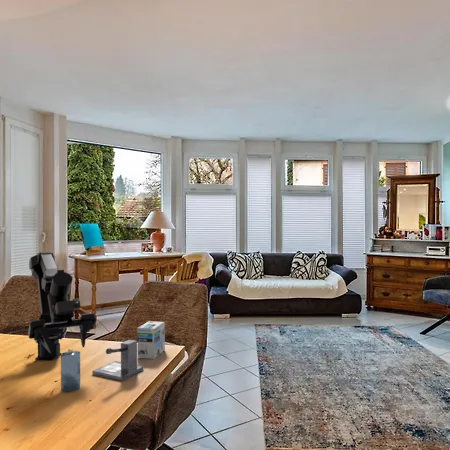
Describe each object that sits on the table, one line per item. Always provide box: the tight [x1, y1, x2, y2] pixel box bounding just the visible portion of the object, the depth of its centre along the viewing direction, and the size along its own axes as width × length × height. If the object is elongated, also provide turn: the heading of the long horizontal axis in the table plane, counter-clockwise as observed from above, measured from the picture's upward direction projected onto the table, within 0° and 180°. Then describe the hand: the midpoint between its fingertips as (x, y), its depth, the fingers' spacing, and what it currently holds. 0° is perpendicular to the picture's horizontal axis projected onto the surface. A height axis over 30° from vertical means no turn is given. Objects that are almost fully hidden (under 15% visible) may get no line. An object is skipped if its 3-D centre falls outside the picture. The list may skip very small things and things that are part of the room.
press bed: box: [92, 339, 144, 382], centre depth 121 cm, size 12×14×11 cm
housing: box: [60, 348, 81, 394], centre depth 111 cm, size 5×5×11 cm
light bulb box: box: [137, 320, 166, 360], centre depth 141 cm, size 11×7×11 cm, turn 168°
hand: (67, 349), depth 114 cm, fingers open, 9 cm apart
